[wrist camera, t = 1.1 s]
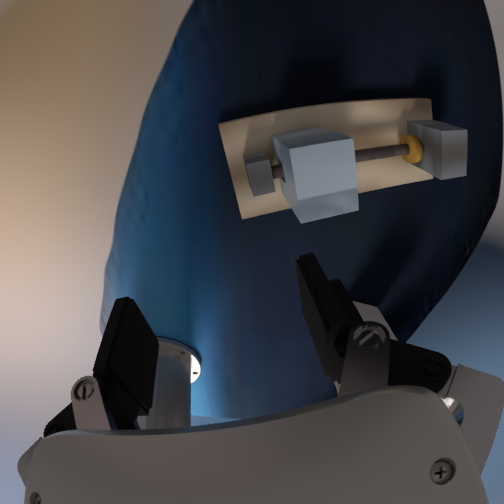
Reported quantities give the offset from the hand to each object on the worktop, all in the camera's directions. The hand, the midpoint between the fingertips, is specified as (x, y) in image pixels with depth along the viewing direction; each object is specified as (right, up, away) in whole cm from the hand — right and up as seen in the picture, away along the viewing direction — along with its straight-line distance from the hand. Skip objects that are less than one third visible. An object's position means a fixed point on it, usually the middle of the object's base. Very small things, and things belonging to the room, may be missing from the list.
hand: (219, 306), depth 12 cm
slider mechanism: (+11, +13, +17) cm, 24 cm away
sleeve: (+6, +11, +15) cm, 20 cm away
